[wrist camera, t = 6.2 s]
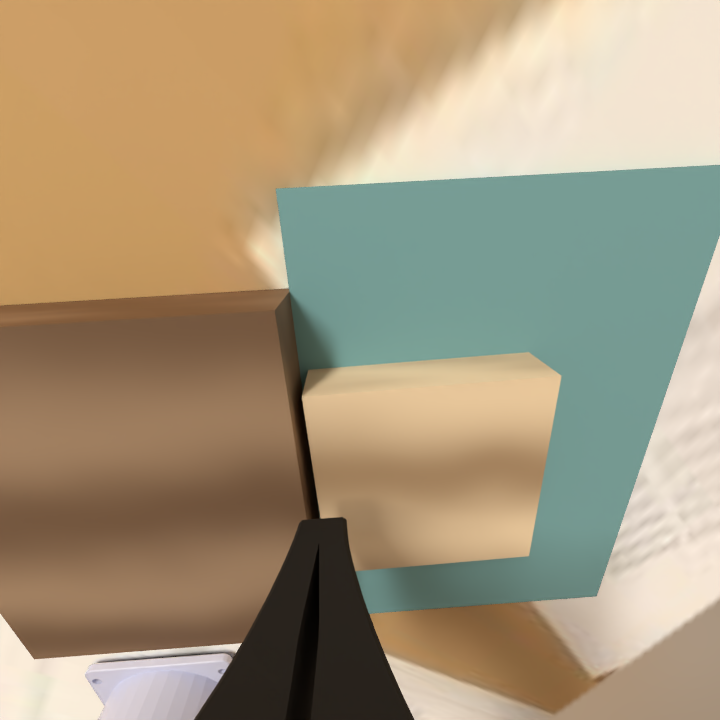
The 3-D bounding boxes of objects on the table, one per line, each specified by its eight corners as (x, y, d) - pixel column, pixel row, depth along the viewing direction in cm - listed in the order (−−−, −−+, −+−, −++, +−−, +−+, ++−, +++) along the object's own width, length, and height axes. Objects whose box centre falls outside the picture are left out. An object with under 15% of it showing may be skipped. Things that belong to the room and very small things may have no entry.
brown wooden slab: (327, 568, 17) (324, 636, 14) (85, 586, 17) (34, 659, 14) (291, 288, 11) (274, 310, 9) (-69, 309, 11) (-203, 339, 8)
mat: (590, 586, 18) (596, 596, 18) (332, 606, 18) (332, 616, 18) (726, 165, 11) (744, 163, 10) (278, 190, 10) (275, 188, 10)
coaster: (506, 515, 15) (528, 556, 13) (331, 530, 15) (329, 573, 13) (528, 351, 12) (561, 375, 10) (308, 370, 12) (301, 396, 10)
